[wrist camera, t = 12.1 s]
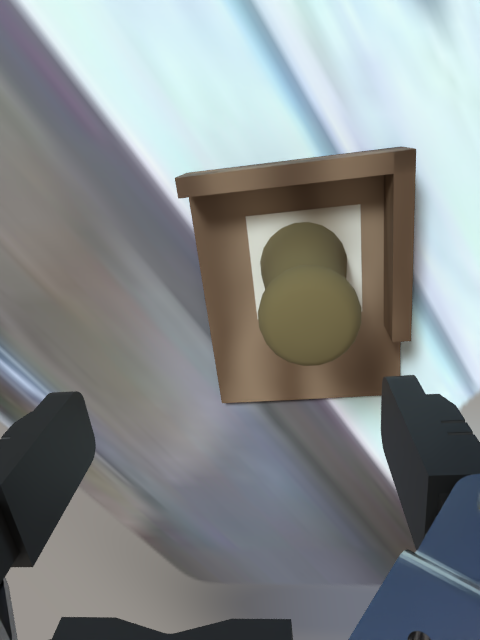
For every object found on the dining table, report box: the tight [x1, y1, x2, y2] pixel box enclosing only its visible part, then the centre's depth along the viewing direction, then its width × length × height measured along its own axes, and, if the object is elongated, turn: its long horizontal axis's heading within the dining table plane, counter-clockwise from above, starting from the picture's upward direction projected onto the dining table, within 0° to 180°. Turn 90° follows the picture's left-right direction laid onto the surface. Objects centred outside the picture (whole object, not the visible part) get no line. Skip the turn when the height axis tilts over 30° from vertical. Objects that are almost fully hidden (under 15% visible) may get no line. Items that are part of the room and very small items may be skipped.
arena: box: [175, 147, 416, 403], centre depth 31 cm, size 14×18×4 cm
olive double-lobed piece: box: [258, 222, 361, 366], centre depth 26 cm, size 6×6×11 cm
